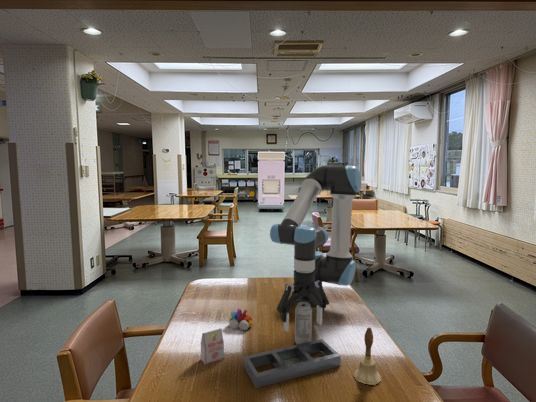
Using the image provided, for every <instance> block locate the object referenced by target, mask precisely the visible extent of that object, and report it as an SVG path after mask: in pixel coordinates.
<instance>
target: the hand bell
mask: <svg viewBox="0 0 536 402" xmlns="http://www.w3.org/2000/svg"><path fill="white" fill-rule="evenodd" d="M373 344H374V334H373V330H372V327H369V326H368V327H367V329H366V330H365V332H364V345H365V354H364V355H365V356H364V357H361V359H360V361H359V366H358V368H357V369H356V370H355V371H354V373H353V378H354V377H355V378H354V380H355V379H356V380H355V381H356V382H358V381H359V382H361V383H364V384H377V383H379V382H380V381H381V382H382V376H381V375H380V373H379V372H378V371H377V367H376V361H375V360H374V359H373V358H372V346H373ZM359 382H358V383H359ZM381 382H380V383H381ZM361 383H360V384H361ZM380 383H379V384H380ZM364 384H363V385H364Z"/></svg>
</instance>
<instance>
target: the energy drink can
mask: <svg viewBox="0 0 536 402" xmlns="http://www.w3.org/2000/svg"><path fill="white" fill-rule="evenodd" d="M312 323H313V309H312V306H310V303H308V302H299V303H296V306H295V311H294V343H295V345H297V344H302V343H306V342H310V341H312V332H313V330H312V327H313V326H312V325H313V324H312Z"/></svg>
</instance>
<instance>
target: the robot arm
mask: <svg viewBox="0 0 536 402" xmlns="http://www.w3.org/2000/svg"><path fill="white" fill-rule="evenodd" d="M361 190H362V175H361V172H360V170H359V168H358V167H357V166H355V165H329V164H328V165H321V166H319V167H316V168H315V169H313V170H312V171H311V172H309V173H308V174H307V175H306V176H305V177H304V179H303V181H302V182H301V189H300V190H299V192H298V194H297V195H296V197H295V199H293V200H294V201H293V202H292V204H291V206H290V208H289V209H288V211H287V212H286V214H285V216H284V218H283V219H282V221H281V223H275V224H272V225H271V227H270V230H269V231H270V232H269V238H270V240H271V242H273V243H276V244H280V245H290V246H294V248H293V253H294V254H293V257H294V258H293V284H288V283H286V284H285V287H284V288H285V289H284V292H283V294H282V296H281V297H280V300H279V302H278V305H277V307H276V311H277V312H278V313H280V314H281V321H282V322H283V330H284V331H286V333H288V332H289V331H290V313H289V311H290V309H291V308H292V307H293V305H294V304H295V303H296V304H297V303H299V302H308V303H310V306H311V307H316V323H317V324H318V325H319V326H323V316H324V314H325V309H326V307H327V306H329V305H330V301H329V298H328V296H327V295H326V292H325V290H324V287H323V283H327V284H332V285H337V286H343V287H344V286H345V287H347V286H350V285H351V283H352V282H353V280H354V277H355V274H356V270H357V269H356V268H357V263H356V261H355V260H354V259H353V255H352V254H351V253H350V243H351V242H350V241H351V228H352V217H353V214H352V211H353V201H354V199H355V198H356V197H357V193H360V192H361ZM323 191H330V193H329V194H330V196H331V198H332V199H333V200H332V211H331V212H332V214H331V230H330V248H329V251H328V252H326V254H325V255H326V256H324V254H323V252H321V251H318V250H317V249H319V248H322V247H324V245H326V243H327V242H328V240H329V233H328V230H326V229H325V228H324V227H322V226H311V225H310V226H308V225H302V224H303V222H304V220H305V218H306V217H307V215H308V213H309V211H310V209H311V207H312V205H313V203H314V202H315V199H316V198H317V196H319V195H320V194H321V193H322V192H323ZM316 250H317V251H316Z"/></svg>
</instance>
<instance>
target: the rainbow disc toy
mask: <svg viewBox="0 0 536 402" xmlns="http://www.w3.org/2000/svg"><path fill="white" fill-rule="evenodd" d="M247 312H248V310H247V309H244V311H243V310H242V309H241V308H238V309H237V310H236V311H232V312H231V313H230V316H231V317H230V318H229V320H228V325H229V328H230V329H231V330H237V329H238V328H239V329H240V330H241V331H247V330H249V328H250V327H251V326H252V325H253V315H252V314H249V313H248V314H247Z"/></svg>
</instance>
